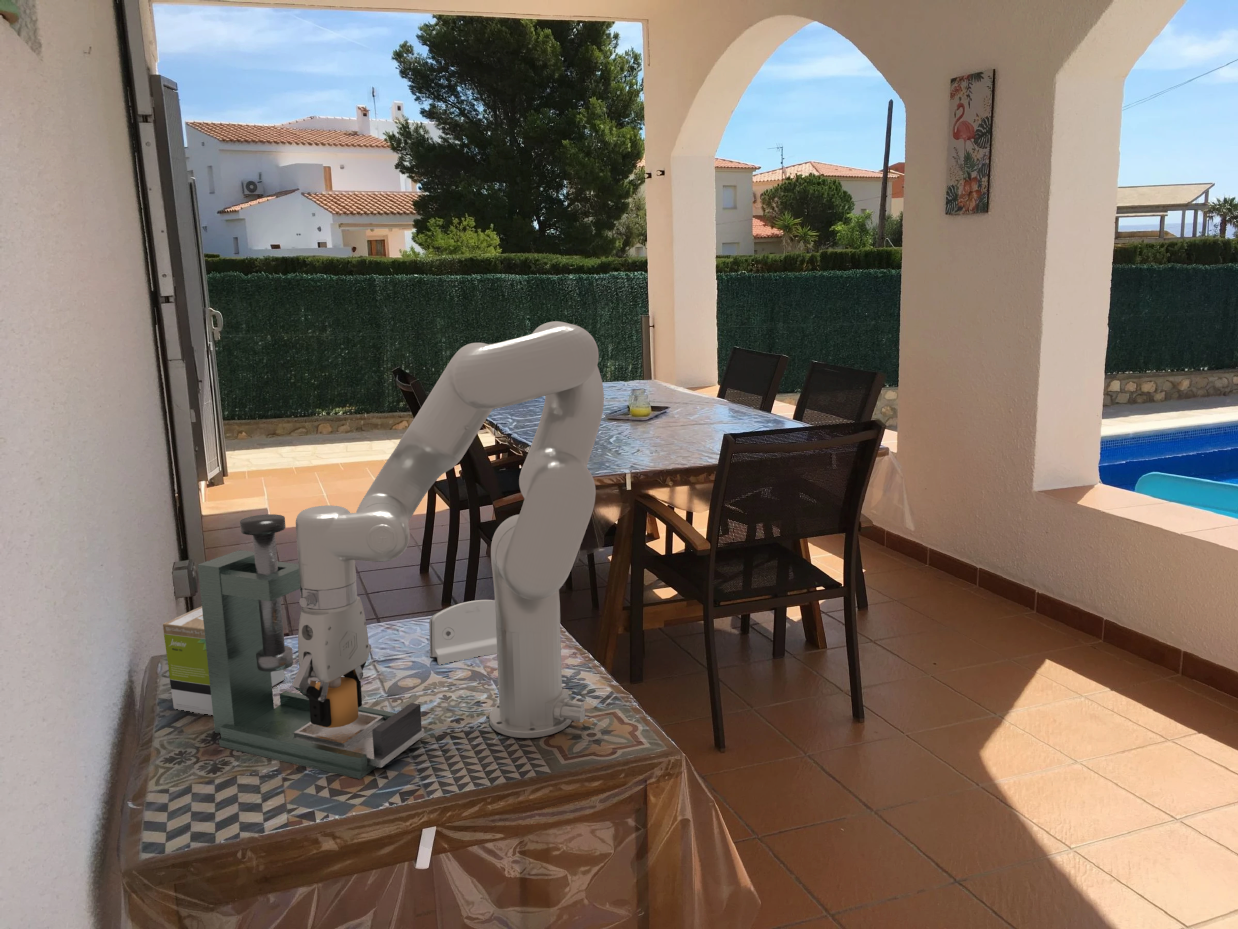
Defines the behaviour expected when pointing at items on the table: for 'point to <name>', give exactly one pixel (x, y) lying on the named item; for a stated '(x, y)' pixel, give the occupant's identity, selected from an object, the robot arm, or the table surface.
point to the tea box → (192, 663)
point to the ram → (266, 563)
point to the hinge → (463, 631)
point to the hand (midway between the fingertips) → (336, 713)
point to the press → (248, 690)
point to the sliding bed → (370, 734)
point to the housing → (342, 701)
